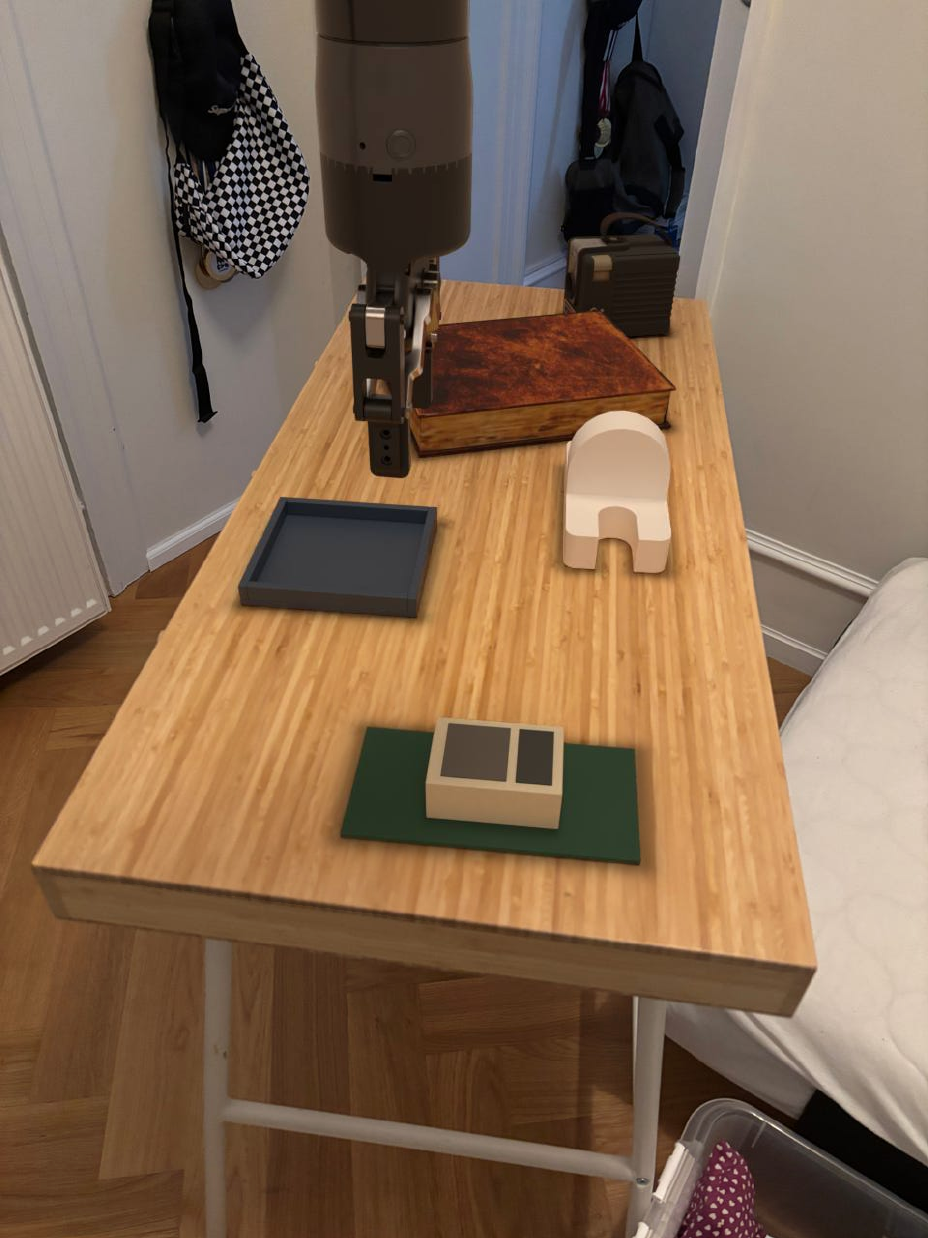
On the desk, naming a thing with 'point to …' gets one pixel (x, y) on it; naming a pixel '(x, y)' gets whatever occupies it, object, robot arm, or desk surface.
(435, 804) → the beige rectangular block
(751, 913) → the desk surface
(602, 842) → the mat
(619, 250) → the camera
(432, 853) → the desk surface
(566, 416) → the book
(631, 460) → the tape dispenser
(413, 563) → the tray
